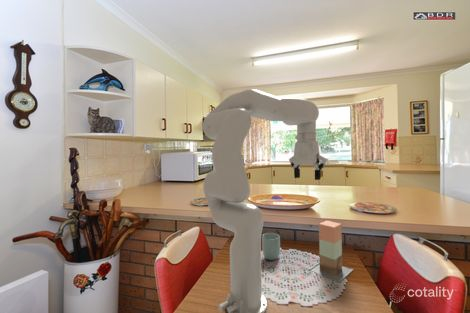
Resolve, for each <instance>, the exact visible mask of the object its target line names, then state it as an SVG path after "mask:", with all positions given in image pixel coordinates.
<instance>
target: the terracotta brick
mask: <svg viewBox="0 0 470 313" xmlns="http://www.w3.org/2000/svg"><path fill="white" fill-rule="evenodd" d="M342 233H343V232H342V223H339V222H334V221H331V220H324V221H322V222H320V223H318V239H320V240H324V241H327V242H330V243H334V244H335V243H336V242H338V241H340V240H341V239H343V237H342V235H343V234H342Z"/></svg>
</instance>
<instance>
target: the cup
mask: <svg viewBox="0 0 470 313" xmlns="http://www.w3.org/2000/svg"><path fill="white" fill-rule="evenodd" d="M261 246H262V247H261V248H262V254H263V257H264V258H265V259H266V260H267V259H269V260H268V261H276V260H278V259H279V257H280V253H281V252H280V251H281V237H280V235H279V234H278V233H275V232H266V233H263V234H261ZM277 258H278V259H277ZM275 259H276V260H275Z"/></svg>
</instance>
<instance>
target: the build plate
mask: <svg viewBox="0 0 470 313" xmlns="http://www.w3.org/2000/svg"><path fill="white" fill-rule="evenodd" d="M308 271H311V272H313V273H315V274H318V275H321V276H323V277H325V278H328V279H329V280H332V281H334V282H336V283H342V281H344V279H346V278H347V277H348V276H349V275H350V274H351V273H352V272H353V271H354V269H353V268H348V267H346V266H343V265H342V271H340V272H339V273H338V274H337V275H336V276H334V275H332V274H329V273H327V272H324V271H322V270H320V260H319V261H318V262H317V263H314V264H313V265H312V266H311V267H309V268H308Z"/></svg>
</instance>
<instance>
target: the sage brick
mask: <svg viewBox="0 0 470 313" xmlns="http://www.w3.org/2000/svg"><path fill="white" fill-rule="evenodd" d="M318 239H319V238H318ZM342 239H343V238H342ZM342 239H341V240H340V241H338V242H336V243H335V244H334V243H330V242H327V241H324V240H320V239H319V241H318V243H319V244H318V245H319V249H318V251H319V252H318V253H319V254H320V255H323V256H325V257H328V258H331V259H334V260H335V259H337V258H338V257H339V256H341V255H342V256H343V246H342V244H343V242H342V241H343V240H342ZM320 255H319V256H320Z"/></svg>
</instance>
